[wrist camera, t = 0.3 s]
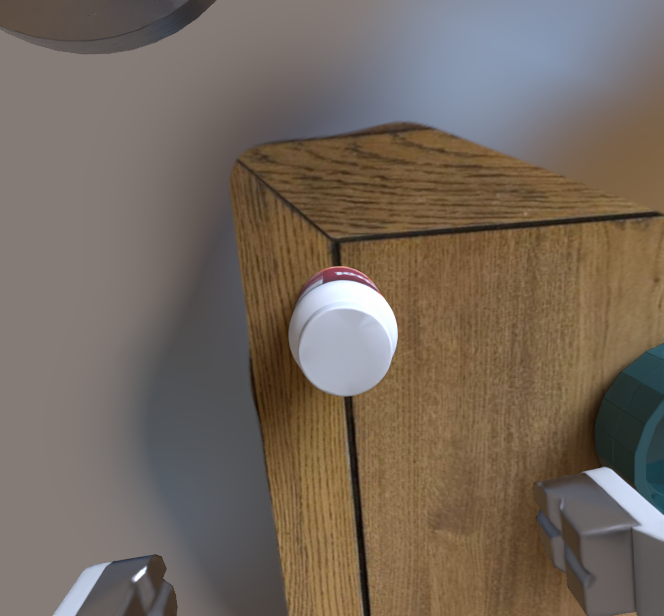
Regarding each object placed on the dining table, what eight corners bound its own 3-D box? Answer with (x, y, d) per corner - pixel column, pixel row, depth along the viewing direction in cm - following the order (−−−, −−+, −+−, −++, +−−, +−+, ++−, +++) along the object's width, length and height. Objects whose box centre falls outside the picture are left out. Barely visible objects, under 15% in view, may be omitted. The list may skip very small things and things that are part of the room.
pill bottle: (397, 301, 31) (435, 347, 20) (343, 361, 32) (352, 435, 21) (334, 247, 30) (339, 265, 19) (280, 310, 31) (256, 360, 20)
